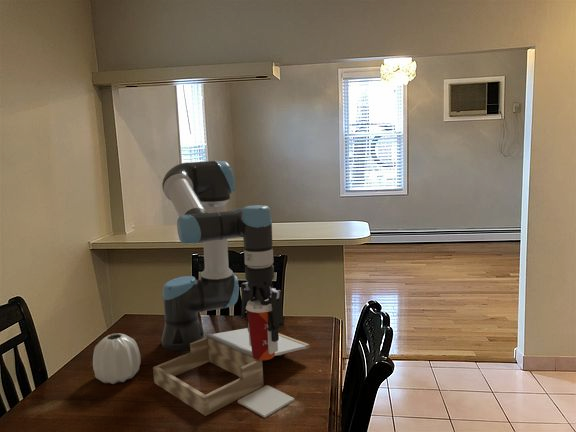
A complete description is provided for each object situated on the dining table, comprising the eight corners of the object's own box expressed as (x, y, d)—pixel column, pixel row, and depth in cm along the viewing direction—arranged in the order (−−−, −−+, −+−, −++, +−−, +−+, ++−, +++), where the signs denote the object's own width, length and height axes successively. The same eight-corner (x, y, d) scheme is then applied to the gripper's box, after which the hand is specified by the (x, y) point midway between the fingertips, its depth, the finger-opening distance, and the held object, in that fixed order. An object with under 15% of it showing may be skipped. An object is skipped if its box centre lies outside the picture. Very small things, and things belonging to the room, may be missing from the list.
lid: (207, 348, 153) (206, 334, 152) (257, 328, 168) (257, 315, 167) (259, 373, 135) (258, 356, 134) (310, 348, 150) (309, 333, 149)
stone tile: (237, 402, 127) (237, 400, 127) (267, 386, 135) (267, 384, 135) (264, 417, 120) (264, 415, 119) (294, 400, 127) (294, 398, 127)
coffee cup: (275, 363, 120) (272, 307, 118) (244, 361, 122) (241, 306, 120) (282, 349, 128) (279, 297, 126) (253, 347, 130) (250, 296, 128)
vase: (128, 363, 154) (125, 324, 152) (149, 376, 144) (145, 335, 142) (86, 378, 144) (82, 337, 142) (105, 394, 135) (101, 350, 133)
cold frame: (154, 382, 140) (152, 357, 139) (210, 359, 154) (208, 336, 153) (205, 416, 121) (203, 387, 120) (263, 385, 136) (262, 359, 134)
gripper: (224, 262, 126) (229, 342, 129) (275, 274, 112) (279, 364, 115) (245, 257, 131) (250, 334, 134) (296, 267, 117) (300, 353, 120)
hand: (263, 348), depth 125 cm, fingers closed on coffee cup, 7 cm apart
